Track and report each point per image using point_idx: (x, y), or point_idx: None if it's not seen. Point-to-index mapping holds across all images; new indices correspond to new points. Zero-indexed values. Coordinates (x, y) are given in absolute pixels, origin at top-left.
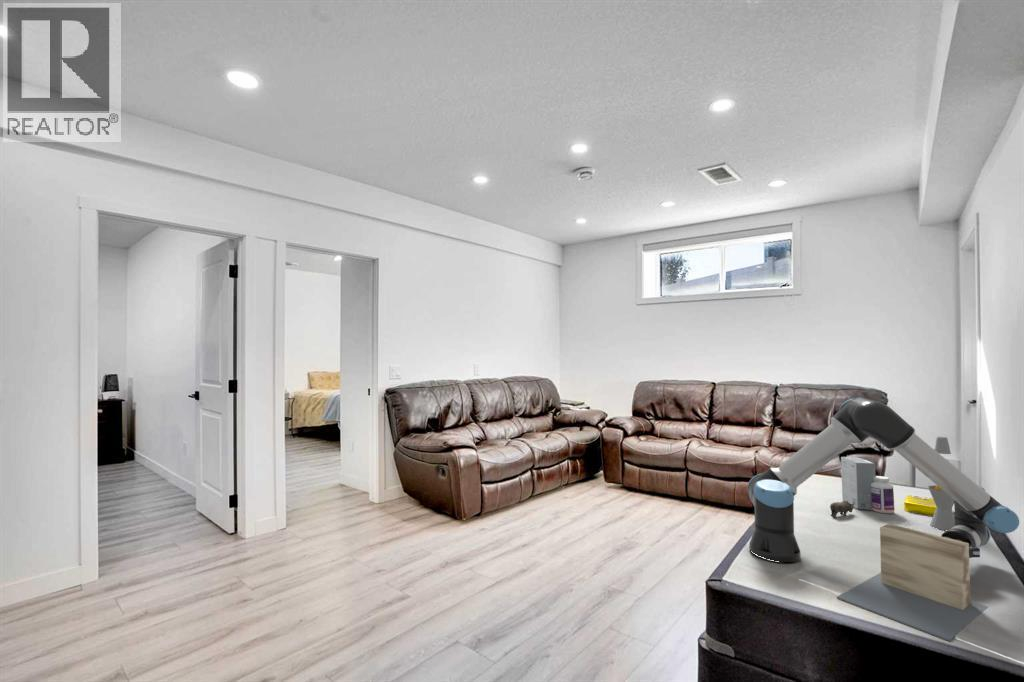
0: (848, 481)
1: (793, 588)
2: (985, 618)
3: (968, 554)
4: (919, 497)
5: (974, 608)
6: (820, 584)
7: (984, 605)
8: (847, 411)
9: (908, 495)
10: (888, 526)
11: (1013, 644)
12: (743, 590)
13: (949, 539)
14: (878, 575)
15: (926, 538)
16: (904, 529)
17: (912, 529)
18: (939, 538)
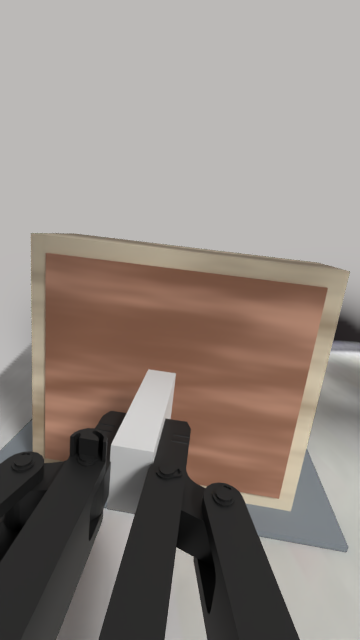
0: None
1: (329, 367)
2: (20, 420)
3: (34, 282)
4: None
5: (32, 442)
6: (329, 392)
7: None
8: None
9: None
10: (314, 264)
11: (10, 366)
12: (343, 345)
13: (98, 240)
14: (323, 504)
15: (169, 245)
16: (259, 258)
17: (241, 258)
18: (132, 243)
